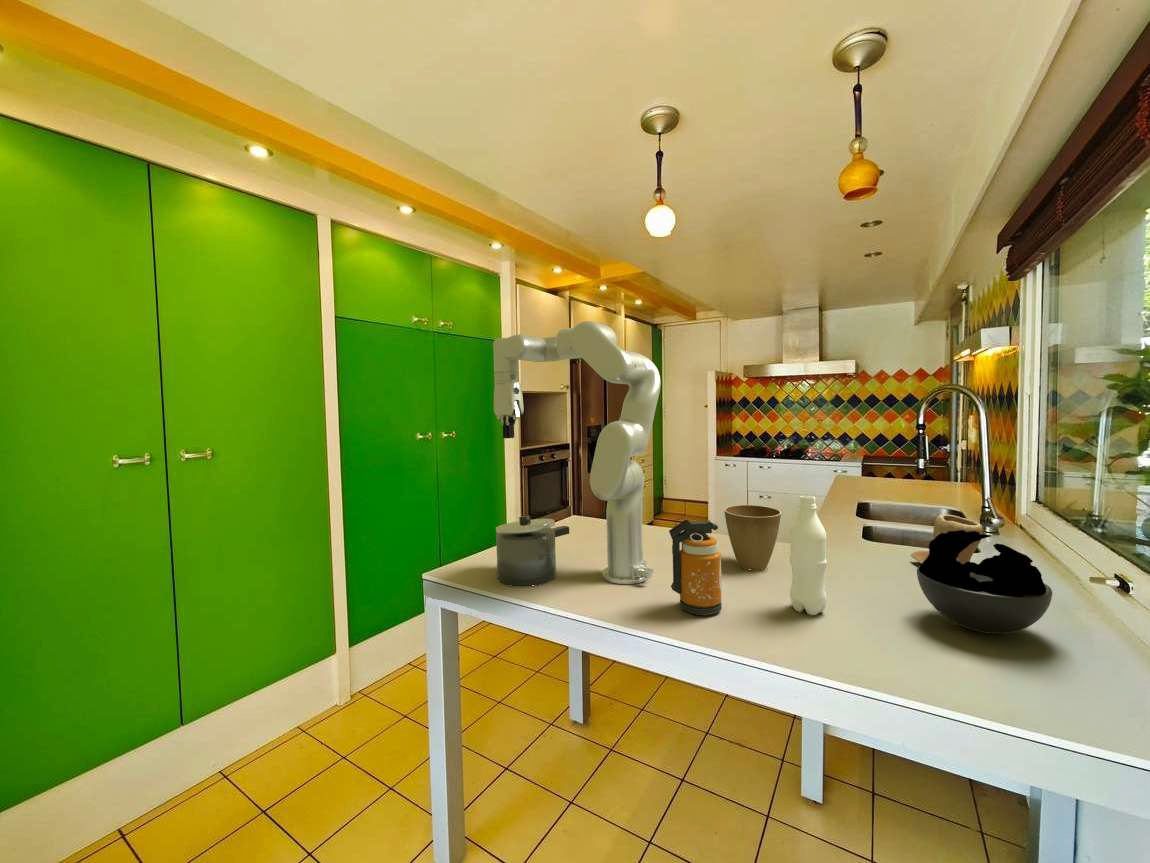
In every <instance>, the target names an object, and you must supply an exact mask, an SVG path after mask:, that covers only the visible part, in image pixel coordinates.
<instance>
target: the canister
mask: <svg viewBox="0 0 1150 863" xmlns="http://www.w3.org/2000/svg"><path fill="white" fill-rule="evenodd" d="M718 529H719V526H718V525H717V524H716V523H713V522H712V521H710V520H706V519H705V520H702V521H701V520H699V521H695V520H694V521H691V520H690V521H689V520H688V519H685V520H682V521H681V522H680V523H679V524H677V525H675V526H673V527H672V528H671V529H669V530H668V533H669V535H670V537H671V540H672V545H671V546H672V547H671V554H672V580H673V581H672V583H671V585H670V587H671V590H672V591H674V592H675V593H677V594H679V607H680V608H682V609H683V610H685V611H686V612H688V613H691V614H694V615H698V614H699V615H700V616H707V615H712V614H713V615H714V614H717V613H719V612H720V611H721V610H722V606H723V605H722V553H721V552H720V551H719V542H718V541H717V538H715V537H714V536H712V535H708V534H712V533H713V531H717V530H718ZM680 543H681V544H680ZM680 545H681V547H680Z"/></svg>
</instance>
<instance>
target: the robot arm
mask: <svg viewBox="0 0 1150 863" xmlns="http://www.w3.org/2000/svg"><path fill="white" fill-rule="evenodd" d="M617 343H618V337H617V334H616V333H615V331H614V330H613V329H612V328H611V327H610V326H608V325H605V324H604V323H603V324H602V323H599V322H595V321H591V320H585V321H581V322H579V323H578V324H576V325H575V326H573V327H568V328H563V329H560V330H559V331H558V332H557V334H556V336H550V337H536V336H533V335H526V334H521V333H519V334H515V335H511V336H509V337H499V338H496V339H494V340H493V370H494V390H493V412H494V415H495V416H496V419H497V420H499V421H500V423H501V426H502V438H503V439H514V438H515V425H516V421H517V420H519V419H520V418H521V416H520V415H523V414H524V410H525V409H524V397H523V390H522V386H521V382H520V374H519V372H520V368H519V367H520V366H519V361H526V362H533V363H534V362H535V363H544V362H545V363H548V362H559V361H565V360H574V359H583V360H584V362H586V363H587V364H588V365H589V367H591V368H592V370H594V371H595V373H597V374H598V375H599V376H600V377H601V378H602V379H603V380H605V382H606V381H607V382H608V383H612V384H620V385H628V387H629V388H628V391H627V394H626V395H625V397H624V400H623V404H622V408H621V409H622V410H621V413H620V417H619V419H618V420H615V421H612V422H610V423H607V425H605V426H604V427H603V428H602V430H601V432H600V433H599V435H598V438H597V441H596V446H595V450H594V454H593V455H594V456H593V460H592V464H591V468H590V475H589V484H590V488H591V491H592V493H593V495H594V496H595V497H596V498H598V499H599V500H602V501H607V503H606V548H607V549H606V553H607V555H606V556H607V566H606V567H605V568H604V569H603V570H602V571H601V577H602V578H603V579H604V580H605V581H607V582H609V583H613V584H617V585H634V584H639V583H643V582H645V581H647V580H651V579H652V576H653V574H654V571H655V570H654V568H651V567H647V561H646V560H644V551H643V550H644V548H643V546H644V544H643V543H644V541H643V495H644V488H645V477H644V476H645V475H644V471H643V469H642V467H641V466H640V464H638V462H636V461H635V460H633V459H631V458H632V457H635V456H636V457H637V456H639V455H642V454H643V452H645V450H646V449H647V447H648V445H649V440H650V437H651V432H652V427H653V423H654V419H655V418H654V417H655V414H656V409H657V404H658V402H659V401H658V400H659V396H660V393H661V392H660V391H661V386H662V385H661V382H662V381H661V375H660V372H659V370H658V368H657V366H656V365H655V363H654V362H653V361H652V360H651V359H649V358H648V357H647V356H645V355H643V354H640V353H638V352H635V351H629V350H624V349H621V348H620V347H619V346H618V345H617Z"/></svg>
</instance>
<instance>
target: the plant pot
mask: <svg viewBox="0 0 1150 863" xmlns="http://www.w3.org/2000/svg"><path fill="white" fill-rule="evenodd" d="M723 511H724V517H725V522H726V529H727V534H728V537H729V541H730V544H731V549H732V551H733V553H734V556H735V557H734V558H736V559H735V560H736V562H737V565H738V566H739V567H740V566H741V567H743V568H742V569H744V568H746V569H745V570H747V569H751V570H750V571H755V570H758V571H763V570H762V569H764V570H766V569H767V567H768V565H769V563H770V560H771V557H772V554H773V552H774V549H775V546H776V543H777V542H776V541H777V537H778V534H779V529H780V524H781V517H782V511H781V510H780V509H776V508H774V507H771V506H764V505H757V504H755V505H754V504H737V505H736V504H735V505H731V506H730V505H729V506H727V507H726V506H725V508H723ZM741 567H740V568H741ZM765 568H766V569H765Z"/></svg>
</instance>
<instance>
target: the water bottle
mask: <svg viewBox="0 0 1150 863" xmlns="http://www.w3.org/2000/svg"><path fill="white" fill-rule="evenodd" d="M798 508H799V511H798V514H797V516H796V518H795V519H794V521H793V523H792V525H791V527H790V529H789V538H790V539H789V540H790V541H789V542H790V543H789V544H790V545H789V550H790V553H789V554H790V555H789V563H790V567H791V575H792V576H791V577H792V578H791V585H790V589H789V598H790V603H791V604H792V607H793V608H794V610H795V611H797V612H798V613H802V612H803V611H804V609H805V612H806V613H807V615H810V616H816V615H818V614H819V613H820V614H821V613H823V612H824V611H825V609H826V607H827V600H828V597H827V592H826V587H825V573H826V568H827V564H828V562H827V556H826V554H827V553H826V551H827V549H826V548H827V547H826V546H827V544H826V542H827V533H826V530H825V528H824V525H823V524H822V522H821V520H820V518H819V517H818V515H817V510H816V509H818V508H817V504H816V497H815V496H813V495H800V496H799V504H798Z"/></svg>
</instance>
